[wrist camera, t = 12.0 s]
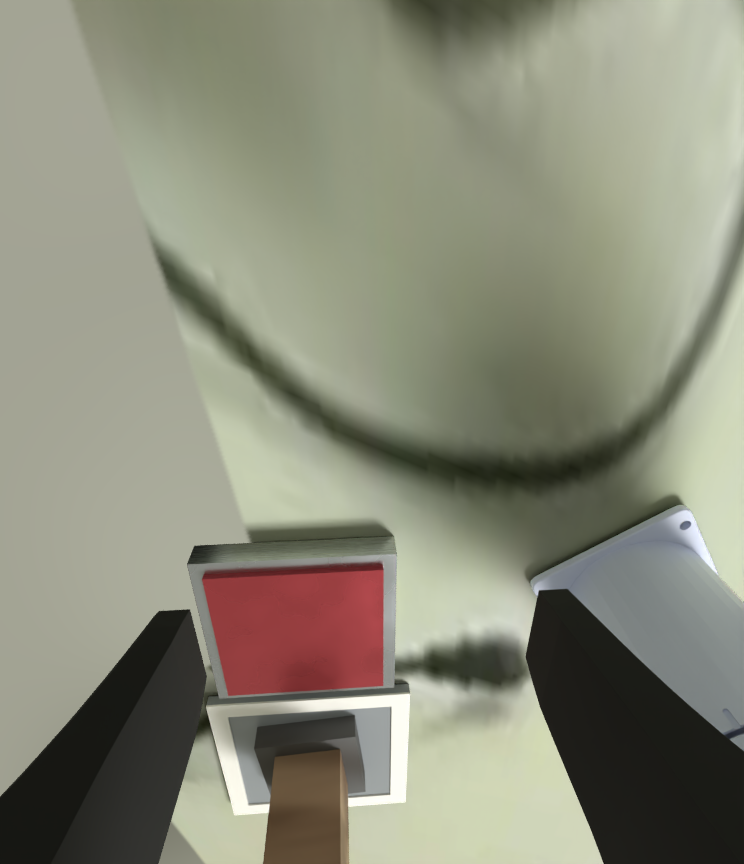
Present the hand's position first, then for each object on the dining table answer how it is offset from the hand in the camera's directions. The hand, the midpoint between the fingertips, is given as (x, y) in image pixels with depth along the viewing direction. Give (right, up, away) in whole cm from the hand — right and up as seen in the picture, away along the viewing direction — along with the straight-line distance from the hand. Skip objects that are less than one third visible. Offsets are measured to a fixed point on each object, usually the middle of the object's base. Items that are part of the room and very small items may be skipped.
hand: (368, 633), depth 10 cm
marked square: (-3, -15, +19) cm, 25 cm away
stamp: (-3, -14, +18) cm, 24 cm away
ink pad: (-3, -5, +14) cm, 15 cm away
